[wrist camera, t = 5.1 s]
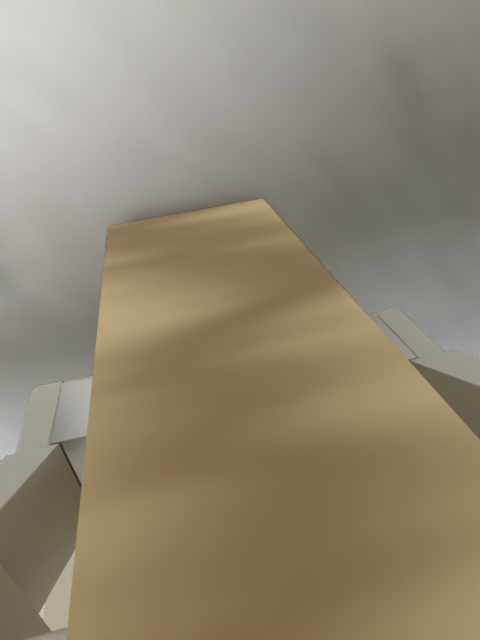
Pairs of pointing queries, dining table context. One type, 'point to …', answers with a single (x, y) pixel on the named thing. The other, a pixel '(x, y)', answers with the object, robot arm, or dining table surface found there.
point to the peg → (263, 452)
